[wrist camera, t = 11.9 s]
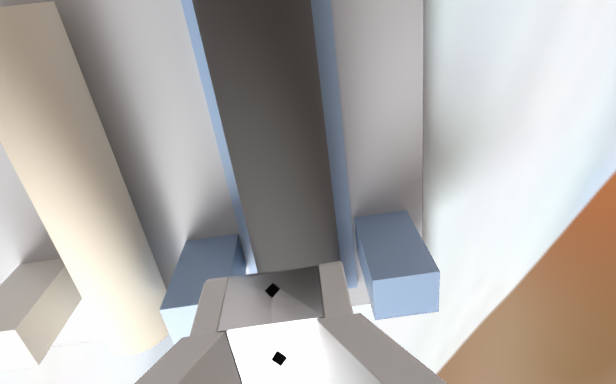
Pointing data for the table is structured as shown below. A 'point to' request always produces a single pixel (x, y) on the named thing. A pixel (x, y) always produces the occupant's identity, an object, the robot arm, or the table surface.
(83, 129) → the rod
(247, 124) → the dark gray rod
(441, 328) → the table surface
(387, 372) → the robot arm
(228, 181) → the rod display rack
